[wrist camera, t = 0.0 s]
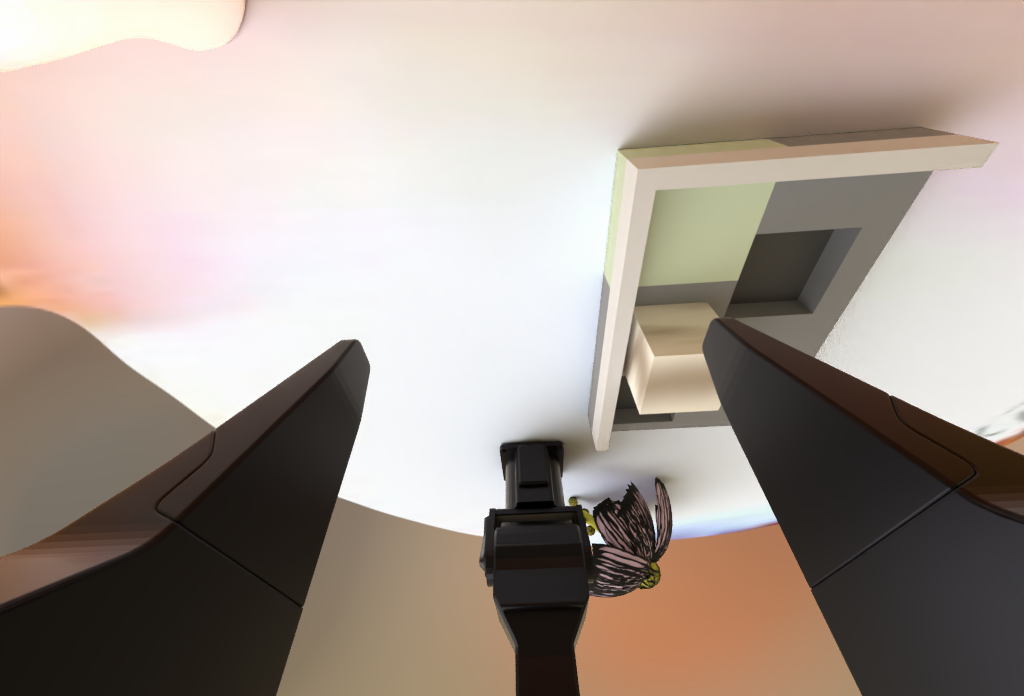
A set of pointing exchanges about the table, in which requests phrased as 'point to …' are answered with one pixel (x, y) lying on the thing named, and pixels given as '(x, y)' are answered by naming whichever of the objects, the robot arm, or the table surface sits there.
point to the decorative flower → (628, 542)
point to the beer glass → (109, 26)
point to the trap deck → (753, 240)
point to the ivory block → (670, 359)
